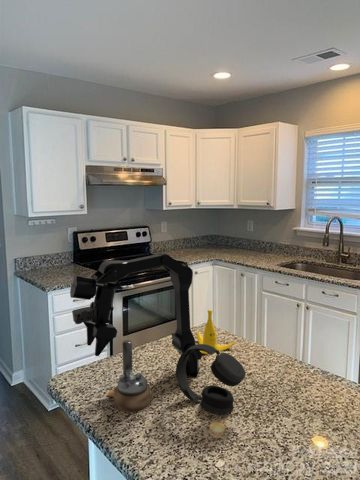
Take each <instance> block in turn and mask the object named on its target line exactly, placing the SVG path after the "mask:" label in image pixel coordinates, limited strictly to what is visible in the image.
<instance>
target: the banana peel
mask: <svg viewBox="0 0 360 480" xmlns="http://www.w3.org/2000/svg"><path fill="white" fill-rule="evenodd" d="M212 313H213V310H212V309H208V310H207V321H206V323H205V328H204V331H203V335H202V334H201V333H200V332H197V333H196V337H197V342H198V344H206V345H209V346H212V347H213V348H215V349H217V350H218V351H219V352H223V351H227V349H230V348H231V347H233V346H234V345H235V344H236V341H233V342H231V343H227V344H224V345H220V344H218V343H217V332H216V329H215V324H214V322H213V320H212ZM200 352H201V353H202V354H205V355H209V354H208V353H207V352H205V351H200Z"/></svg>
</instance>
